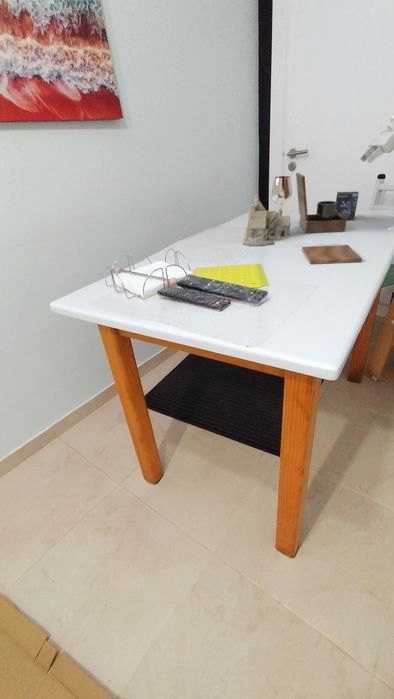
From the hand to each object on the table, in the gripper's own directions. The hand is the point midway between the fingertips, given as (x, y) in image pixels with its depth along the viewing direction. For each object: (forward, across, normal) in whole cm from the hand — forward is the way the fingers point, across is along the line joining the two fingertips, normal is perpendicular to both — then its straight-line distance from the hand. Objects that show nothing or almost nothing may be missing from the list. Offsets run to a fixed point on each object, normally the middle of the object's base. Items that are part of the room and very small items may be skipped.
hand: (364, 160), depth 114 cm
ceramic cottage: (+38, +13, -6) cm, 41 cm away
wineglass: (+35, -6, -3) cm, 35 cm away
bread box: (+24, +2, +8) cm, 25 cm away
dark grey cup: (+23, +2, +8) cm, 24 cm away
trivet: (+25, +32, +8) cm, 42 cm away
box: (+16, -13, +15) cm, 26 cm away
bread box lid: (+21, +3, -7) cm, 22 cm away
